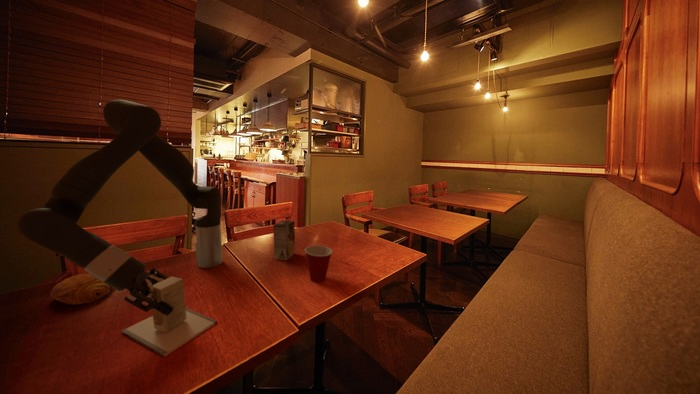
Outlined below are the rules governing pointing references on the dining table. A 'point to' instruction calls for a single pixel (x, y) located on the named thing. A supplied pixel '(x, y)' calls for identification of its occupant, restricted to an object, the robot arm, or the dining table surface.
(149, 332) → the mat
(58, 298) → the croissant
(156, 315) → the skincare box
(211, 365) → the dining table surface
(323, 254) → the plastic cup
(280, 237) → the coffee box
